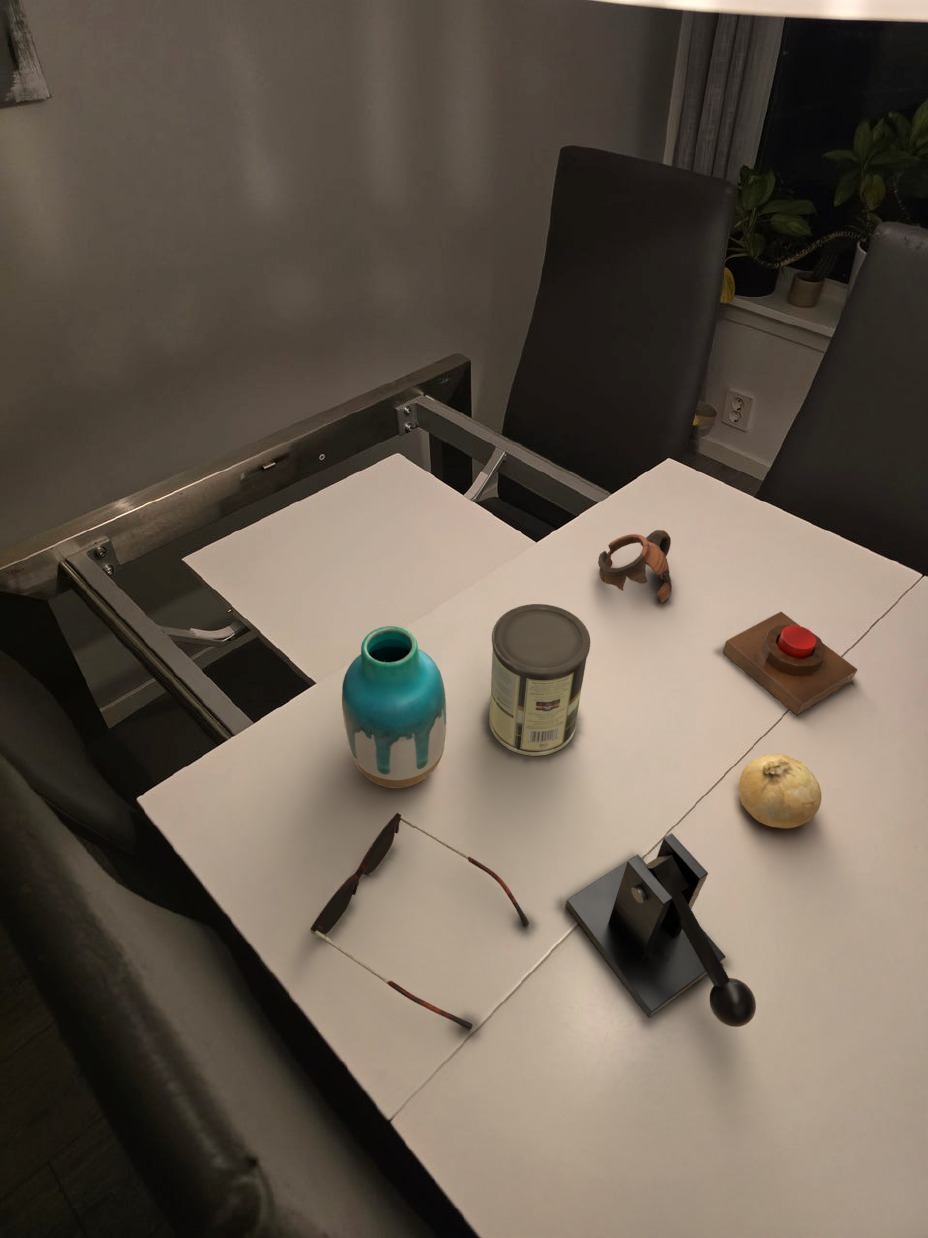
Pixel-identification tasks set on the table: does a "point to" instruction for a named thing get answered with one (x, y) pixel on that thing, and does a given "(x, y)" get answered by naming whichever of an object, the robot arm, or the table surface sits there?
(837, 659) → the button block
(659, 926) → the bracket
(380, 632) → the vase
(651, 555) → the pottery mug
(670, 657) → the table surface
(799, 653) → the button
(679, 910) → the lever
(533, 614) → the coffee can
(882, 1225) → the table surface
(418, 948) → the table surface
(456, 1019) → the sunglasses
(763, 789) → the onion
